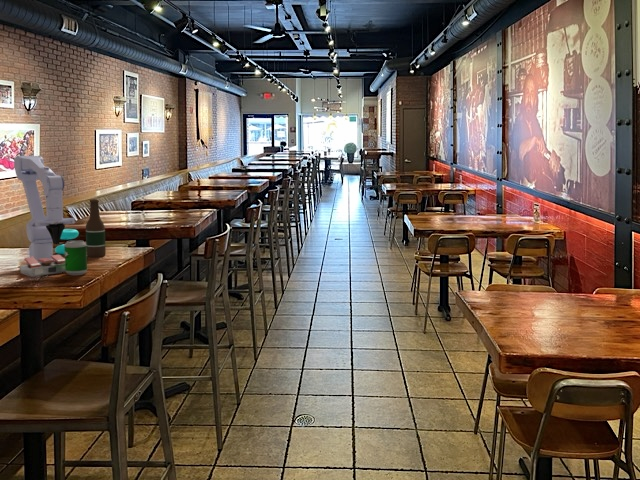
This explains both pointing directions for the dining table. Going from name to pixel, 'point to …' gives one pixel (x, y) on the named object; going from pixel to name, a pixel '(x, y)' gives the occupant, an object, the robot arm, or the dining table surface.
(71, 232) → the donuts
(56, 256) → the rocker
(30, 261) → the rocker
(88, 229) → the beer bottle
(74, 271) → the soda can
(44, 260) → the rocker
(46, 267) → the console
